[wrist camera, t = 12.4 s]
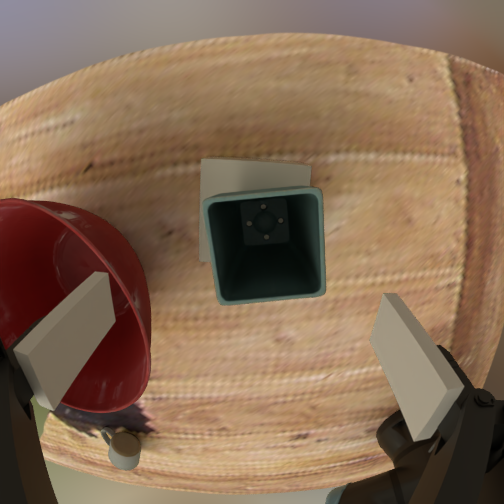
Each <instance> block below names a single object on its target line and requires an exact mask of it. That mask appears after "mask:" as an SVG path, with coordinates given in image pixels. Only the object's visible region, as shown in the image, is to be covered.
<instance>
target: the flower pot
mask: <svg viewBox="0 0 504 504" xmlns="http://www.w3.org/2000/svg"><path fill="white" fill-rule="evenodd" d="M263 204H264V205H266V208H265V209H262V208H261V205H263ZM323 212H324V211H323V194H322V191H321V189H319V188H317V187H311V186H303V185H301V186H289V187H278V188H268V189H258V190H248V191H238V192H228V193H220V194H217V195H214V196H211V197H209V198H206V199H204V200H203V202H202V213H203V218H204V224H205V230H206V235H207V241H208V247H209V252H210V259H211V266H212V271H213V277H214V283H215V289H216V296H217V300H218V302H219V304H220V305H240V304H249V303H259V302H268V301H279V300H289V299H299V298H310V297H311V298H313V297H319V296H322V295H324V294H325V292H326V266H325V239H324V214H323ZM280 218H282V219H283V222H282V223H279V221H278V220H279V219H280ZM248 221H250V222H252V225H251V226H248V225H247V222H248ZM265 235H268V236H269V238H268V239H265V238H264V236H265Z"/></svg>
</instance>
